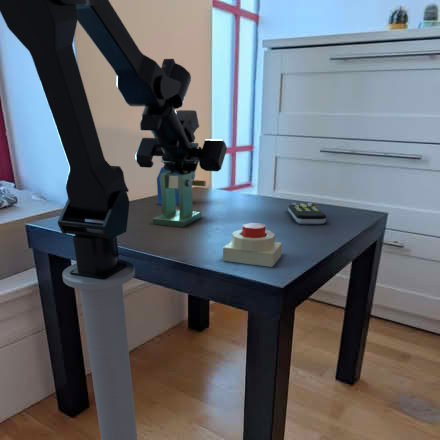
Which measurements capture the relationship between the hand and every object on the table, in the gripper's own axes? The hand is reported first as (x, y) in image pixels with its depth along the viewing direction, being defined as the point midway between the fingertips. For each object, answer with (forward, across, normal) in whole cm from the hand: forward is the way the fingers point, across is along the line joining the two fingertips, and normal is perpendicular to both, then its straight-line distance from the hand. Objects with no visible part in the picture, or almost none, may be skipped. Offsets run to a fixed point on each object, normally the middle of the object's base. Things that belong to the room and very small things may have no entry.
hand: (193, 178), depth 93 cm
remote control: (+9, -25, +2) cm, 27 cm away
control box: (-13, -22, +23) cm, 35 cm away
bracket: (-1, 0, +11) cm, 11 cm away
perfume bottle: (+12, +10, 0) cm, 15 cm away
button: (-16, -22, +21) cm, 34 cm away
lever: (-2, 0, +4) cm, 5 cm away
